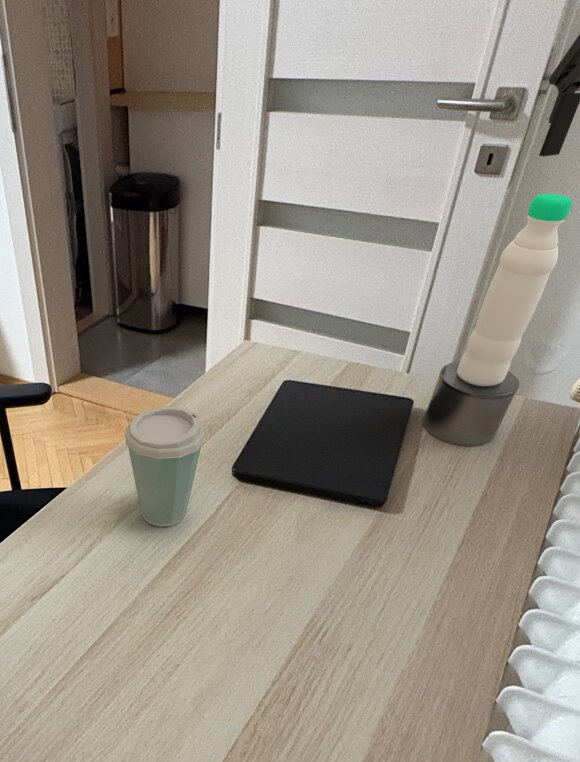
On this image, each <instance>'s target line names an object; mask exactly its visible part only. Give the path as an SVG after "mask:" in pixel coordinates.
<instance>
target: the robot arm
mask: <svg viewBox="0 0 580 762" xmlns="http://www.w3.org/2000/svg"><path fill="white" fill-rule="evenodd" d="M548 83H549V85H554V87H556V89H557V92H558V93H557V95H556V99H555V102H554V104H553V107H552V109H551V112H550V115H549V118H548V124H549V127H548V130H547V133H546V135H545V138H544V140H543V143H542V146H541V148H540V151H539V154H538V156H540V157H550V156H557V155H560V153H561V151H562V148H563V146H564V143H565V140H566V139H567V135H568V133H569V130H570V127H571V125H572V123H573V120H574V118H575V115H576V113H577V109H578V107H579V105H580V33H579V34H578V36H577V37H576V39H575V40H574V41H573V43H572V44H571V46H570V47H569V49H568V50H567V51H566V53H565V54H564V56H563V57H562V59H561V60H560V62H559V63H558V65H557V66H556V67H555V69H554V70H553V72H552V73H551V75H550V77H549V78H548Z"/></svg>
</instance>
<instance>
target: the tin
mask: <svg viewBox="0 0 580 762" xmlns="http://www.w3.org/2000/svg"><path fill="white" fill-rule="evenodd" d="M460 361H461V360H457V361H453V362H449V363H447V364H444V365H443V366H442V368H440V370H439V374H438V378H437V381H436V383H435V386H434V389H433V392H432V395H431V397H430V400H429V402H428V404H427V408H426V411H425V414H424V416H423V419H422V425H423V428H424V429H425V430H426V432H427V433H428V434H430V435H431V436H432V437H434V438H436V439H437V440H440V441H442V442H445V443H448V444H452V445H456V446H463V447H464V446H465V447H477V446H478V447H479V446H484V445H487V444H488V443H490V442H492V441H493V440H494V439H495V437H496V435H497V433H498V431H499V429H500V426H501V424H502V422H503V420H504V418H505V416H506V414H507V412H508V409H509V407H510V405H511V403H512V401H513V399H514V397H515V395H516V393H517V392H518V391H519V389H520V388H519V387H520V381H519V379H518V378H517V377H516V375H514V373H512V372H510V370H508V372H507V374H506V377H505V379H504V380H503V381H502V382H501V383H499V384H497V385H494V386H477V385H473V384H470V383H467V382H465V381H464V380H462V379H461V378H460V377H459V375H458V373H457V369H458V366H459V364H460Z"/></svg>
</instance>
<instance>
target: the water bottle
mask: <svg viewBox="0 0 580 762" xmlns="http://www.w3.org/2000/svg"><path fill="white" fill-rule="evenodd" d="M572 205H573V200H572V199H571V198H570V197H568V195H567V196H566V195H563V194H558V193H543V194H538V195H536V196H534V198H533V199H532V200H531V203H530V205H529V207H528V210H527V215H526V218H527V222H526V224H525V226H524V227H523V228H522V229H521V230H520V231H519V232H518V233H517V234H516V235H515V237H514V239H512V241H510V242H509V244H508V245H507V246H506V247H505V248H504V249H503V251H502V253H501V254H500V258H499V264H498V266H497V269H496V271H495V273H494V275H493V277H492V279H491V283H490V284H489V287H488V289H487V292H486V295H485V297H484V300H483V302H482V305H481V307H480V310H479V313H478V317H477V319H476V322H475V323H476V324H475V327H474V329H473V330H472V332H471V333H470V336H469V338H468V341H467V344H466V348H465V351H464V353H463V355H462V357H461V359H460V360H459V361H460V364H459V366H458V369H457V373H458V375H459V377H460V378H461V379H462V380H464V381H465V382H467V383H470V384H473V385H477V386H494V385H497V384H499V383H501V382H502V381H503V380H504V379H505V377H506V374H507V372H508V371H510V367H511V364H512V360H513V358H514V357H515V355H516V354H517V351H518V349H519V347H520V345H521V341H522V337H523V335H524V333H525V332H526V329H527V328H528V327H529V324H530V322H531V320H532V318H533V316H534V314H535V311H536V309H537V307H538V305H539V303H540V300H541V298H542V295H543V293H544V291H545V288H546V285H547V283H548V280H549V278H550V275H551V272H552V271H553V270H554V268H555V267H556V265H557V263H558V259H559V246H558V245H559V234H558V230H559V226H560V225H561V224H563V223H564V222H565V219H566V218H567V217H568V216H569V213H570V211H571V209H572Z"/></svg>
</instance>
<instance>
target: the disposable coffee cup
mask: <svg viewBox="0 0 580 762" xmlns="http://www.w3.org/2000/svg"><path fill="white" fill-rule="evenodd" d="M124 438H125V445H126V446H127V448H128V453H129V458H130V464H131V468H132V474H133V479H134V485H135V489H136V495H137V498H138V504H139V509H140V515H141V516H142V518H143V519H144V520H145V521H146V522H147V523H148V524H150V525H153V526H155V527H172V526H174V525H176V524H179V523H181V521H182V520H183V518H184V516H185V514H186V513H187V512H188V511H187V510H188V507H189V502H190V498H191V493H192V489H193V486H194V479H195V475H196V472H197V466H198V463H199V458H200V453H201V450H202V445H203V444H204V442H205V441H206V439H205V431H204V429H203V425H202V423H201V420H200V416H198V415H197V414H196V413H195V412H193V411H192V410H191V409H189V408H187V407H182V406H181V407H180V406H174V405H168V406H160V407H153V408H150V409H148V410H146V411H144V412H141V413H139V414H137V415H136V416H134V418H133V420H131V422H130V423H129V424H128V425H127V426H126V427H125V433H124Z"/></svg>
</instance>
